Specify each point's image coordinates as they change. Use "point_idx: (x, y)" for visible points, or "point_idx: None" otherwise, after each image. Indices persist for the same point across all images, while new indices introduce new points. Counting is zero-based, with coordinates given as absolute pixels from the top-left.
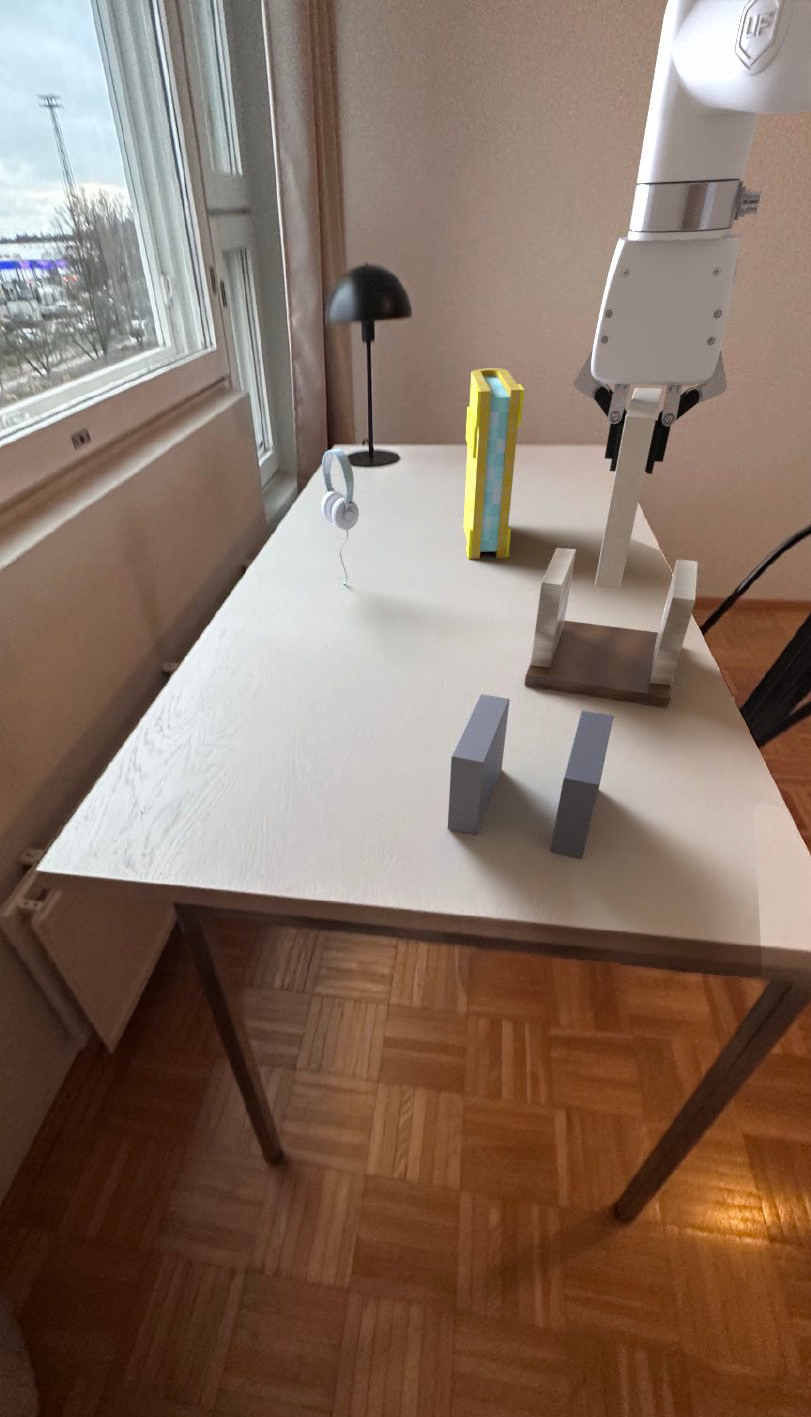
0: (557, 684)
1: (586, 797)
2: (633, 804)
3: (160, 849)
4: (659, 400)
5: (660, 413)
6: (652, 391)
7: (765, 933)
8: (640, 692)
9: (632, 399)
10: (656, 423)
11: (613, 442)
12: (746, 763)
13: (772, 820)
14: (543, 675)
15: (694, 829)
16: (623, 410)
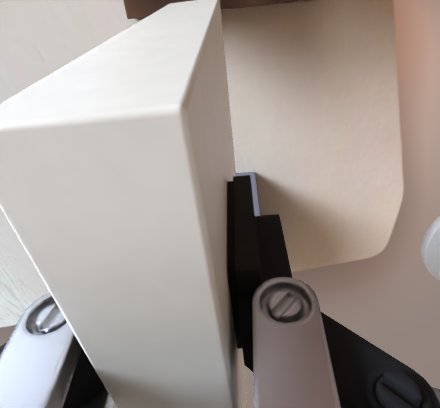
0: None
1: None
2: (286, 180)
3: (26, 306)
4: (229, 365)
5: (247, 347)
6: (140, 227)
7: (366, 254)
8: (279, 2)
9: (104, 383)
10: (238, 313)
11: None
12: (392, 85)
13: (396, 160)
14: (149, 10)
15: (332, 190)
16: (113, 403)
